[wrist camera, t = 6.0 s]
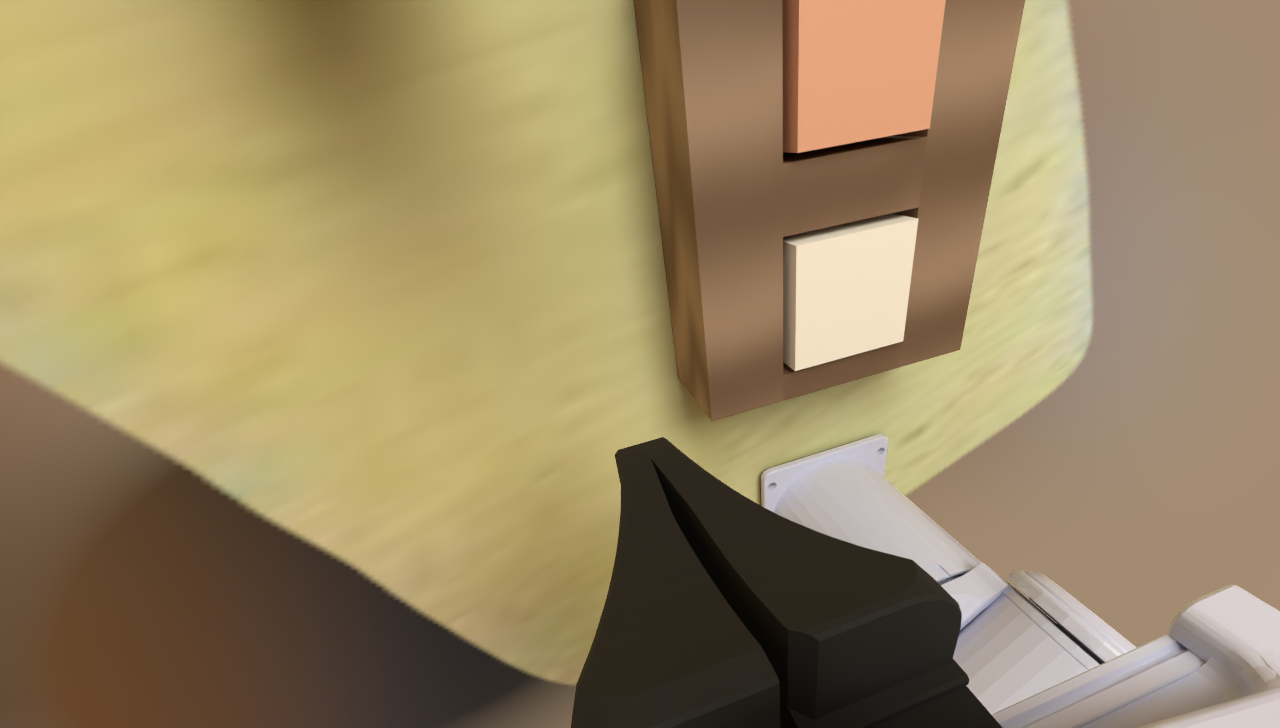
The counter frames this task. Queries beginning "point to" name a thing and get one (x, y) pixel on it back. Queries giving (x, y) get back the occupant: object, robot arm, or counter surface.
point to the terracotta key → (857, 69)
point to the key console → (805, 190)
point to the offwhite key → (846, 288)
